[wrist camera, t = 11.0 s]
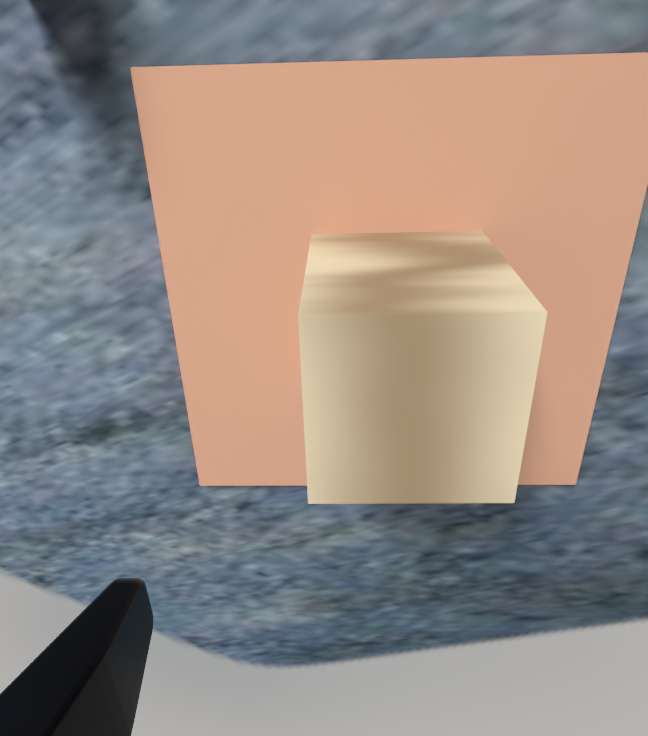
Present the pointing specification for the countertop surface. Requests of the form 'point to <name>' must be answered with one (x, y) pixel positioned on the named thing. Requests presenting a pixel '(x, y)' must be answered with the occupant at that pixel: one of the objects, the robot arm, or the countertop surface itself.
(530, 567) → the countertop surface
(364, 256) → the maple block
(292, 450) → the mat
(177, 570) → the countertop surface
